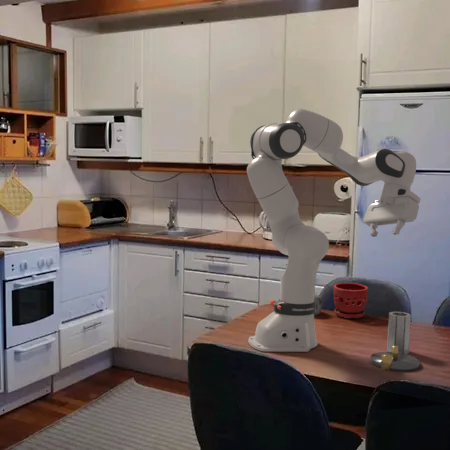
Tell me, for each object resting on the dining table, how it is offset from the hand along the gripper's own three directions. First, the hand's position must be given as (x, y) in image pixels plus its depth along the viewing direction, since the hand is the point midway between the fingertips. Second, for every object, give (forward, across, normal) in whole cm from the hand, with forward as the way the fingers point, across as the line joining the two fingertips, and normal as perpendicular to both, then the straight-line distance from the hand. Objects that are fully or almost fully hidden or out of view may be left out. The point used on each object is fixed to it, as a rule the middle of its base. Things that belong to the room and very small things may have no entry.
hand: (384, 234), depth 194 cm
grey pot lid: (+40, +11, +7) cm, 42 cm away
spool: (+22, -48, +17) cm, 55 cm away
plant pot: (+19, -36, +28) cm, 49 cm away
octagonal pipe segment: (+34, +4, +15) cm, 37 cm away
